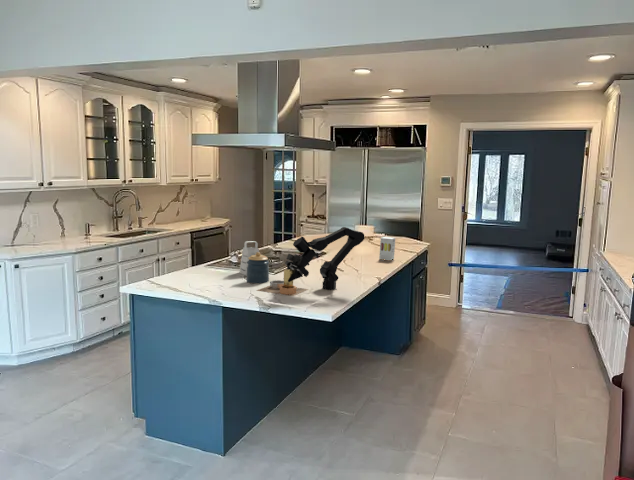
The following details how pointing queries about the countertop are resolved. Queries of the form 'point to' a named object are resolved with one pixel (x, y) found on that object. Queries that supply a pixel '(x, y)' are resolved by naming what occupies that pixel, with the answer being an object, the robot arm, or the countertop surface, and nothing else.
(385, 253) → the supplement box
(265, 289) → the walnut board
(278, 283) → the steel stand collar
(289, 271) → the brass shaft
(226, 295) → the countertop surface
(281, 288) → the ring
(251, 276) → the canister
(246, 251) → the grater
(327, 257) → the countertop surface
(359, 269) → the countertop surface
